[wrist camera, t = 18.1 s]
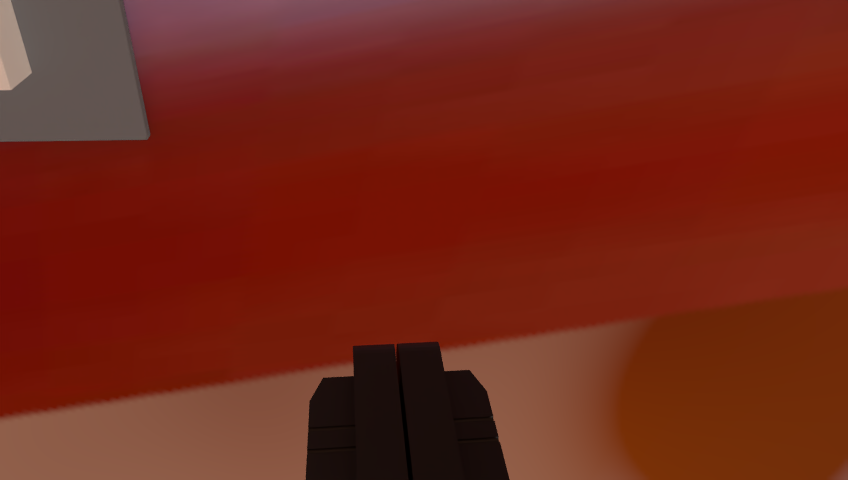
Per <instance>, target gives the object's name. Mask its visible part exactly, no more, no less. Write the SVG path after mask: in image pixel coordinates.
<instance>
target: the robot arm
mask: <svg viewBox="0 0 848 480" xmlns="http://www.w3.org/2000/svg"><path fill="white" fill-rule="evenodd" d="M353 363H354V376H350V377H331V378H323V379H322V381H321V383H320V384H319V386H318V388H317V389H316V391H315V393H314V395H313V396H312V398H311V400H310V405H309V425H308V427H309V430H308V431H309V432H308V446H307V465H306V480H509V476H508V472H507V468H506V464H505V460H504V457H503V452H502V449H501V445H500V442H499V440H498V433H497V429H496V425H495V421H493V414H492V410H491V406H490V402H489V398H488V394H487V391H486V390H485V388H484V387H483V386H482V385H481V384H480V382H479V381H478V380H477V379H476V377H475V376H474V375H473V374H472V373H471V371H470V370H461V371H444V367H443V362H442V357H441V351H440V346H439V343H438V342H423V343H402V344H397V350H396V356H395V347H394V344H385V345H364V346H353Z"/></svg>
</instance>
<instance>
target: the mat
mask: <svg viewBox="0 0 848 480" xmlns="http://www.w3.org/2000/svg"><path fill="white" fill-rule="evenodd" d="M11 3H12V6H13V10H14V13H15V17H16V20H17V24H18V27H19V30H20V34H21V37H22V41H23V44H24V47H25V51H26V54H27V58H28V61H29V65H30V68H31V71H32V73H31V74H30V75H29V76H28V77H26V78H25V79H24V80H23V81H22V82H20V83H19V84H18V85H17V86H16V87H14V88H13V89H12V90H0V142H5V141H81V140H148V138H149V136H150V131H149V126H148V121H147V116H146V111H145V106H144V101H143V97H142V92H141V87H140V82H139V77H138V72H137V67H136V62H135V57H134V52H133V47H132V43H131V38H130V33H129V28H128V23H127V18H126V13H125V8H124V3H123V0H11Z"/></svg>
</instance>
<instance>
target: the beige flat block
mask: <svg viewBox="0 0 848 480" xmlns="http://www.w3.org/2000/svg"><path fill="white" fill-rule="evenodd" d="M31 73H32V71H31V68H30V65H29V61H28V58H27V54H26V51H25V47H24V44H23V41H22V37H21V34H20V30H19V27H18V24H17V20H16V17H15V13H14V10H13V6H12V3H11V0H0V90H12V89H13V88H14V87H16V86H17V85H18V84H19V83H20V82H22V81H23V80H24V79H25V78H26V77H28V76H29V75H30V74H31Z"/></svg>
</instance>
